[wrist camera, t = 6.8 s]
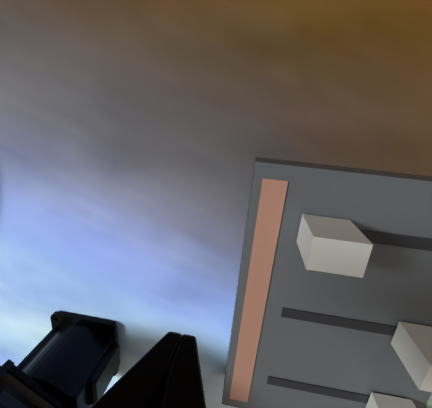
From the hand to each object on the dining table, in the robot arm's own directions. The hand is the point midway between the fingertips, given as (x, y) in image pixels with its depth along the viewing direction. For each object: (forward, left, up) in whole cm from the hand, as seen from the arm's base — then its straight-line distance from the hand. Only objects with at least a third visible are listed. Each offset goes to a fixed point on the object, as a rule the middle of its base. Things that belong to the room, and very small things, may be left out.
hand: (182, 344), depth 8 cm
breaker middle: (+15, -7, -11) cm, 19 cm away
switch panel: (+11, -7, -13) cm, 18 cm away
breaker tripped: (+7, 0, -11) cm, 13 cm away
